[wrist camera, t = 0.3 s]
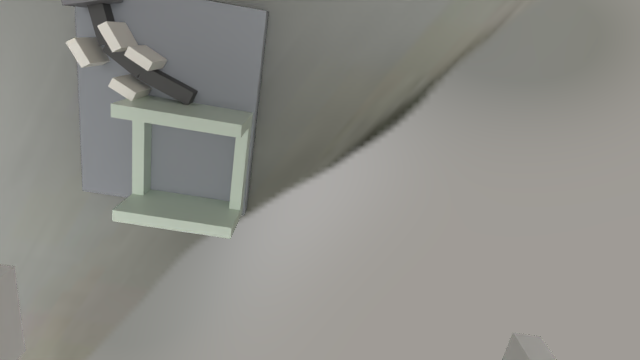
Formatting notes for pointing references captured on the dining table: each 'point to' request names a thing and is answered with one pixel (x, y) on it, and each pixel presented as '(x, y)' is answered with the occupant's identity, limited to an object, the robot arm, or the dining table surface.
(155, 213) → the end holder
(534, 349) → the robot arm
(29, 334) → the dining table surface
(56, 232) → the dining table surface
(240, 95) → the board
